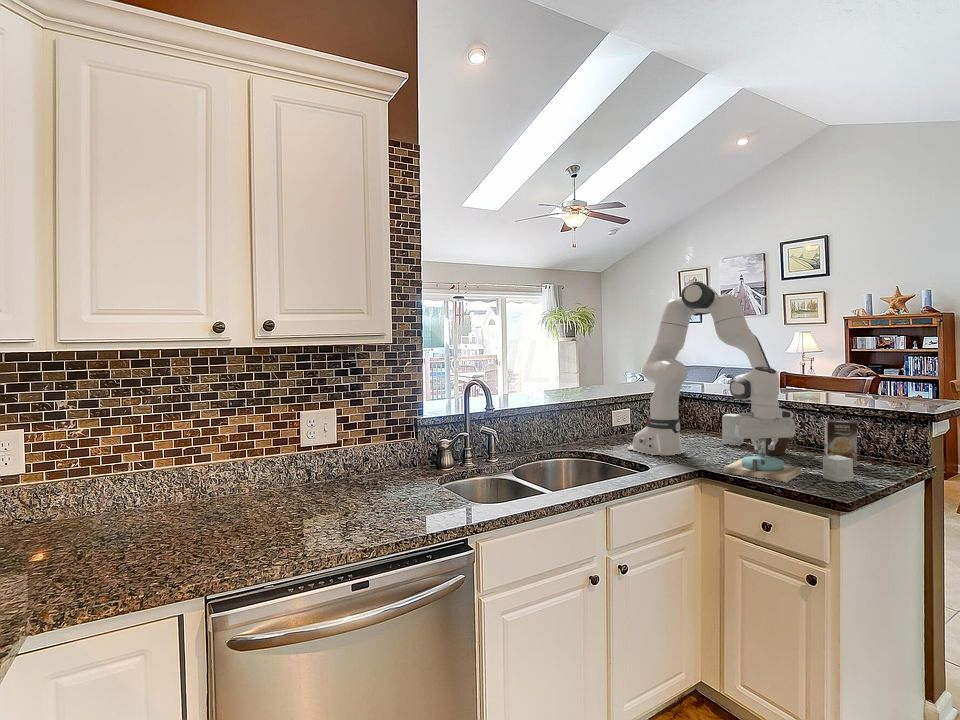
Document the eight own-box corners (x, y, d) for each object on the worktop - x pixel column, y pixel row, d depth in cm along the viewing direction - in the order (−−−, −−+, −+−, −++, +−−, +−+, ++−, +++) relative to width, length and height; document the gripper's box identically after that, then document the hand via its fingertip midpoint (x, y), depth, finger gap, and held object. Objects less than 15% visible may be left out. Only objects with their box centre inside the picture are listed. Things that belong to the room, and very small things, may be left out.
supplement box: (740, 446, 230) (740, 416, 229) (721, 444, 234) (721, 415, 234) (744, 442, 236) (743, 414, 235) (726, 441, 240) (725, 413, 240)
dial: (742, 458, 200) (742, 436, 200) (782, 460, 194) (782, 438, 194) (741, 469, 185) (741, 445, 185) (785, 472, 179) (784, 448, 179)
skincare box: (853, 481, 174) (853, 458, 174) (836, 482, 174) (836, 460, 173) (838, 476, 180) (838, 454, 180) (822, 477, 180) (822, 455, 179)
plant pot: (744, 452, 218) (743, 413, 217) (766, 447, 225) (766, 409, 224) (780, 459, 205) (779, 417, 204) (802, 454, 212) (802, 413, 212)
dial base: (724, 472, 190) (724, 455, 190) (740, 464, 200) (740, 448, 200) (786, 482, 176) (786, 464, 175) (800, 473, 185) (800, 456, 185)
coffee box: (826, 466, 193) (826, 421, 193) (823, 462, 199) (823, 418, 198) (857, 468, 190) (857, 422, 189) (853, 463, 195) (853, 419, 194)
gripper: (739, 414, 192) (739, 452, 193) (798, 412, 191) (797, 451, 192) (731, 411, 198) (731, 448, 199) (788, 410, 197) (787, 447, 198)
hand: (764, 449), depth 195 cm, fingers open, 3 cm apart
